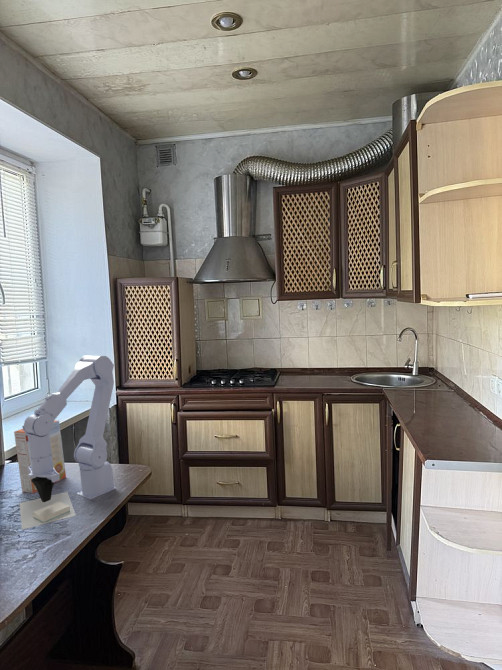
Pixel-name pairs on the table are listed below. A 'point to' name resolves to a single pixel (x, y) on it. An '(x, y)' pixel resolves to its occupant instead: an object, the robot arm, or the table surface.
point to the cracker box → (25, 459)
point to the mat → (37, 504)
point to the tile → (51, 511)
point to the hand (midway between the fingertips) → (46, 500)
